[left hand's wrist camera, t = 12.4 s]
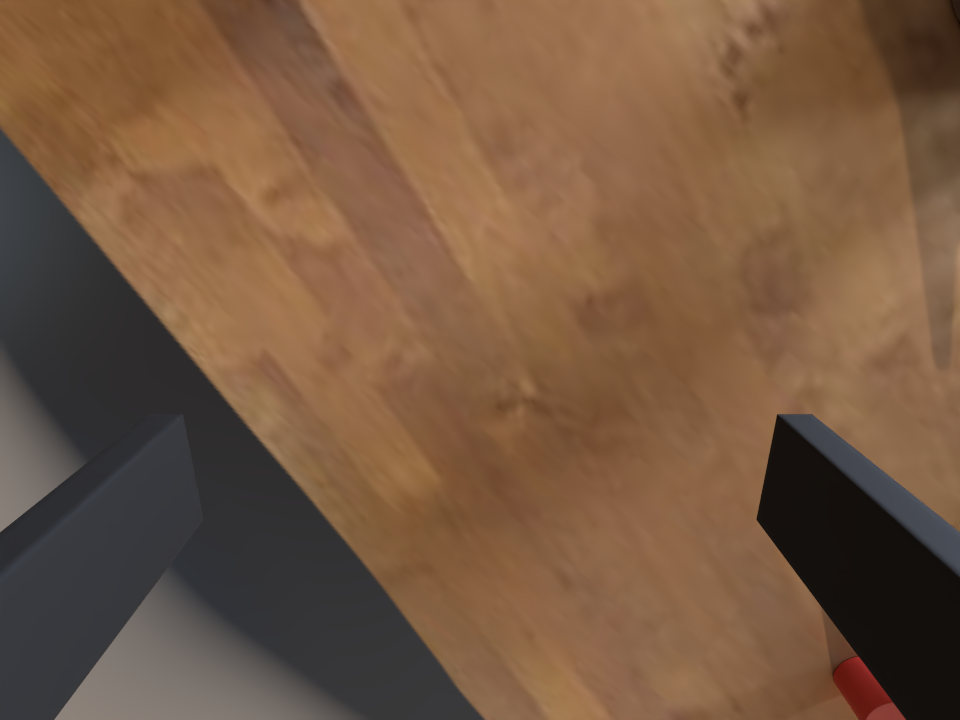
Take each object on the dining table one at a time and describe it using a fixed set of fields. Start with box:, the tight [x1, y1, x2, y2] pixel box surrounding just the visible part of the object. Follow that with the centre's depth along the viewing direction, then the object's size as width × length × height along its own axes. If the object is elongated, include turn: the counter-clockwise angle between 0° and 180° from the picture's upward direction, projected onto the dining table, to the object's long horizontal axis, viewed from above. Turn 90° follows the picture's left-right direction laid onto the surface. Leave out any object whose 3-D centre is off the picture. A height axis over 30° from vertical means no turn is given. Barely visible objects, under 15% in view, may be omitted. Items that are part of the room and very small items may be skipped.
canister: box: [833, 657, 906, 720], centre depth 50 cm, size 4×4×5 cm
